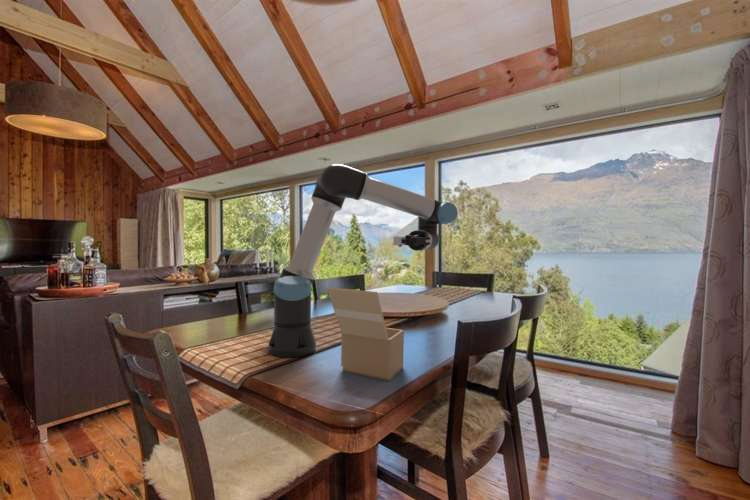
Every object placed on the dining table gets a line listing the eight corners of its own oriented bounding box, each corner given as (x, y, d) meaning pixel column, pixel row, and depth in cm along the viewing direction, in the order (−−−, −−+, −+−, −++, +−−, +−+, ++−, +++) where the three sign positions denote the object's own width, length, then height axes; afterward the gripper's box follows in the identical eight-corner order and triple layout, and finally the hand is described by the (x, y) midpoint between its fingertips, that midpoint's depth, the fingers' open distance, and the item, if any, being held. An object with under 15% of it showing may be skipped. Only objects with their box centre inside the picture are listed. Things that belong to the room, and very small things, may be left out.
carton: (340, 370, 95) (340, 331, 95) (357, 359, 104) (358, 323, 104) (389, 381, 89) (389, 339, 88) (403, 368, 98) (403, 330, 97)
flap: (343, 330, 94) (341, 333, 93) (328, 287, 87) (326, 289, 86) (388, 338, 88) (387, 340, 87) (377, 292, 81) (375, 294, 80)
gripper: (436, 250, 126) (415, 253, 105) (403, 249, 132) (376, 252, 111) (436, 230, 126) (415, 229, 105) (403, 230, 132) (377, 228, 110)
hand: (395, 241), depth 108 cm, fingers closed
